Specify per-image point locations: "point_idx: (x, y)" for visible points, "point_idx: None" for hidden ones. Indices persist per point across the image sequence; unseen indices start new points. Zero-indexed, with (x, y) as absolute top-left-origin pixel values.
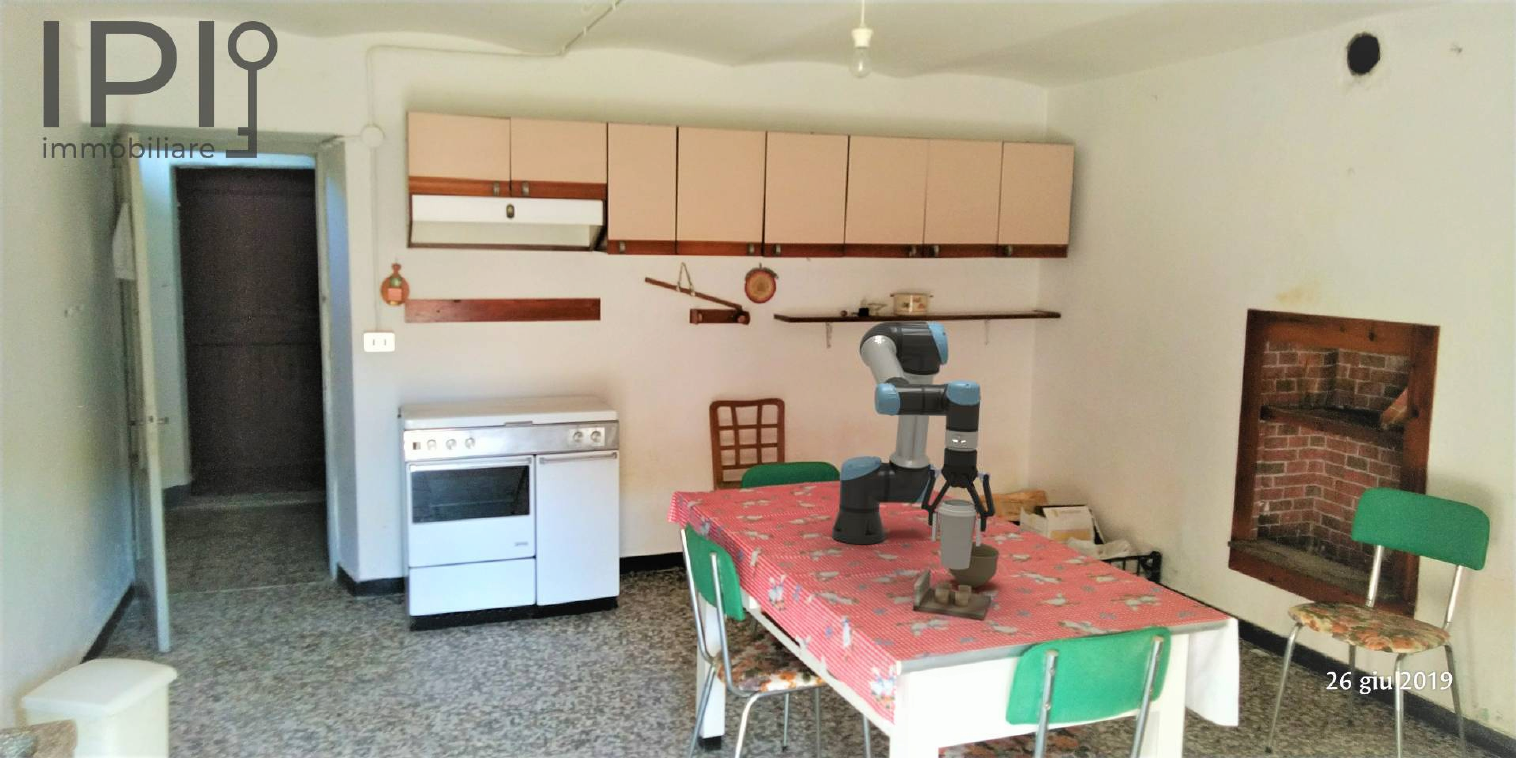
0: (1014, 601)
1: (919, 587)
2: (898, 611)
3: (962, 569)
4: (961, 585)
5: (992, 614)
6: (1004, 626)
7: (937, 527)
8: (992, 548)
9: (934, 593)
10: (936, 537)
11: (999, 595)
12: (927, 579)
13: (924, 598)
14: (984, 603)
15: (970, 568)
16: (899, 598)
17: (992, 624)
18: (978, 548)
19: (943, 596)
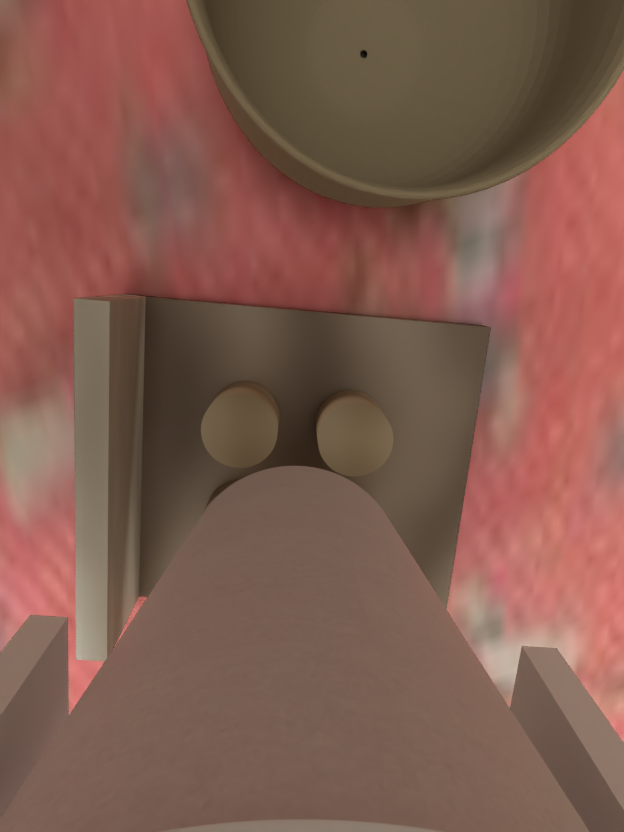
0: (605, 284)
1: (109, 654)
2: (60, 614)
3: (329, 192)
4: (334, 422)
5: (483, 513)
6: (528, 638)
7: (3, 715)
8: None
9: (186, 385)
10: (60, 668)
11: (532, 206)
12: (121, 396)
13: (148, 482)
14: (452, 453)
15: (388, 201)
16: (21, 440)
17: (478, 632)
18: None
19: None
